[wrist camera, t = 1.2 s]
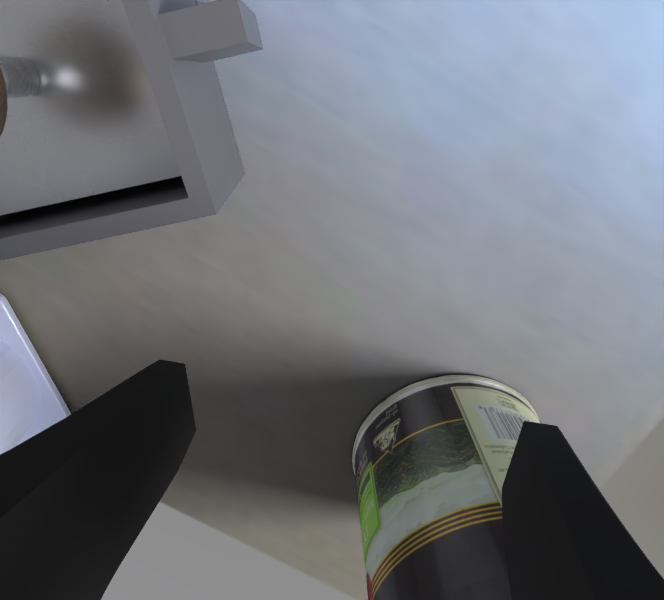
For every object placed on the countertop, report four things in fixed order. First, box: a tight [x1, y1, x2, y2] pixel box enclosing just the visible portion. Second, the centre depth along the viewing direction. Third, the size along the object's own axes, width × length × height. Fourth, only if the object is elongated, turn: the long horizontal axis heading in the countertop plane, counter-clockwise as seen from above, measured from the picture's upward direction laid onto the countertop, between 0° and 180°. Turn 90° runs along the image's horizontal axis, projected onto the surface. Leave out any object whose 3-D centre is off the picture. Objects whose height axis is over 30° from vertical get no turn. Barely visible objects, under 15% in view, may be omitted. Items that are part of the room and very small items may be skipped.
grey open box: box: [0, 0, 263, 260], centre depth 14 cm, size 11×9×6 cm
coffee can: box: [352, 375, 541, 600], centre depth 19 cm, size 10×10×14 cm
